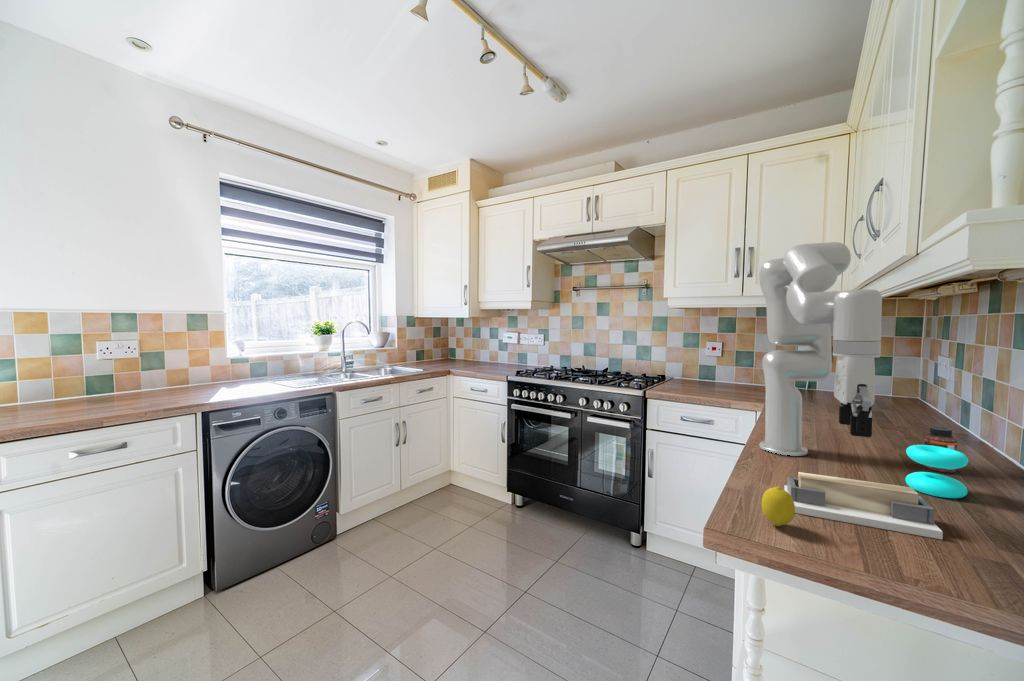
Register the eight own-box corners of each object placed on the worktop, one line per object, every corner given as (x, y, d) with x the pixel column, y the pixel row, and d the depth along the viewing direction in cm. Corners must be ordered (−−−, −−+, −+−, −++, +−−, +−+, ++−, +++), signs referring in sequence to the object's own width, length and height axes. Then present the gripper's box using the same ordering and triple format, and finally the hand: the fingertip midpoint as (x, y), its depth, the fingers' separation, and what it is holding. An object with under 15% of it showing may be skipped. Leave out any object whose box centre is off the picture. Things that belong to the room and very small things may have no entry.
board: (784, 491, 94) (784, 485, 94) (916, 512, 83) (916, 505, 83) (790, 512, 84) (790, 505, 84) (942, 539, 73) (942, 531, 73)
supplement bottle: (960, 475, 102) (962, 432, 102) (928, 471, 105) (929, 429, 105) (951, 468, 107) (952, 427, 107) (920, 464, 110) (921, 424, 110)
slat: (797, 493, 90) (798, 471, 89) (910, 511, 80) (911, 487, 80) (800, 499, 86) (800, 477, 86) (917, 519, 77) (918, 494, 77)
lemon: (800, 534, 75) (801, 493, 75) (768, 532, 76) (768, 491, 76) (786, 520, 81) (786, 482, 80) (756, 518, 82) (757, 480, 81)
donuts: (978, 459, 86) (916, 452, 91) (977, 504, 86) (915, 495, 91) (955, 446, 95) (899, 441, 99) (953, 487, 95) (898, 480, 100)
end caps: (787, 489, 92) (787, 476, 92) (919, 510, 81) (919, 495, 81) (791, 500, 86) (791, 487, 86) (934, 524, 75) (934, 509, 75)
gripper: (825, 346, 91) (823, 418, 92) (843, 352, 76) (841, 438, 77) (867, 346, 88) (865, 422, 89) (895, 352, 73) (892, 444, 74)
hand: (854, 430), depth 83 cm, fingers open, 9 cm apart
